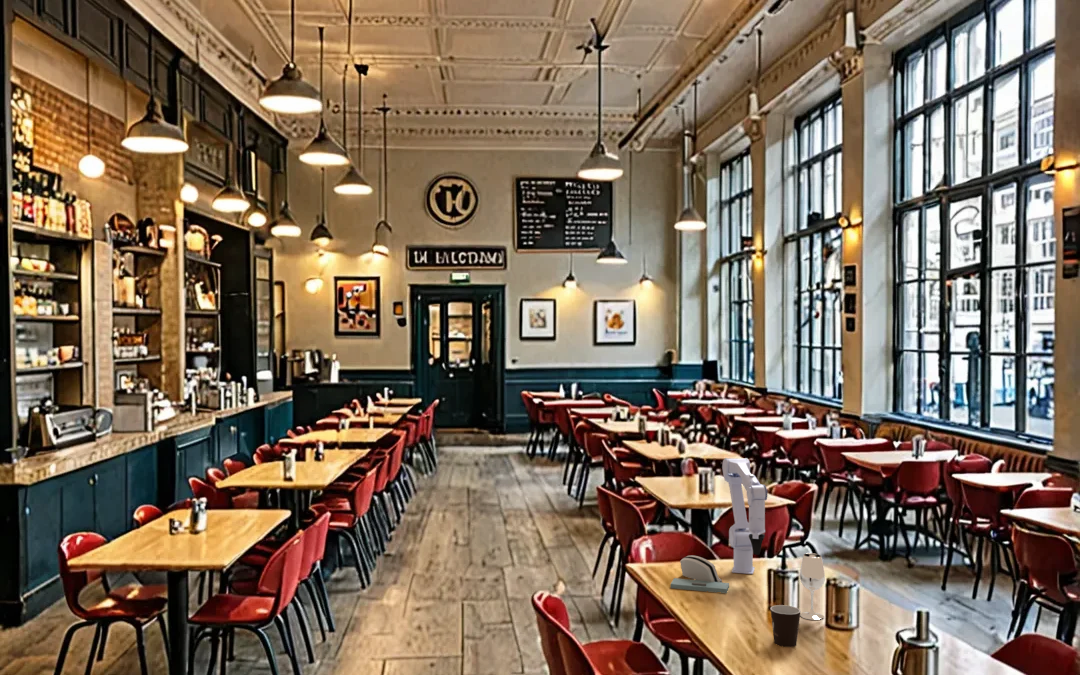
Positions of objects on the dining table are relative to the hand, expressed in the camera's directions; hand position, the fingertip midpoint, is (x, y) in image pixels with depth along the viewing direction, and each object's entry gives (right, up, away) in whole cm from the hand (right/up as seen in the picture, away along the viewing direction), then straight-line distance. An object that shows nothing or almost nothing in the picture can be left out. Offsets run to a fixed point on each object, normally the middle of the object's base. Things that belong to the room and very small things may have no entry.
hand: (756, 554), depth 322 cm
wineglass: (+8, -11, -39) cm, 42 cm away
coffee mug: (-7, -11, -63) cm, 64 cm away
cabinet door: (-22, -10, -7) cm, 26 cm away
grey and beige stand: (-21, -11, +3) cm, 23 cm away
